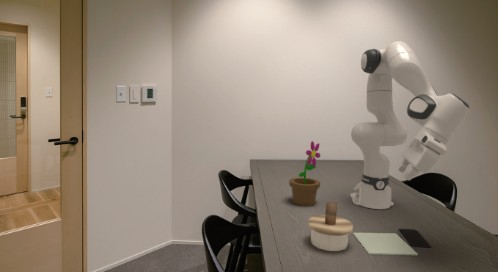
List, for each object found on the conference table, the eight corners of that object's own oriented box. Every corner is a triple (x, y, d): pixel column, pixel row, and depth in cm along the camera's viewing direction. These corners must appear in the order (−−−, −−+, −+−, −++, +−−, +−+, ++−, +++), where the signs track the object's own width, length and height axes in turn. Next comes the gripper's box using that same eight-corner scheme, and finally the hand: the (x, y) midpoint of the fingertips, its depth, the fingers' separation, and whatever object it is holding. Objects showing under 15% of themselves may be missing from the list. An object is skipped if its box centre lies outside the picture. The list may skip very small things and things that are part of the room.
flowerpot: (308, 209, 149) (311, 143, 145) (282, 202, 158) (284, 139, 154) (324, 202, 159) (328, 140, 155) (299, 195, 169) (302, 136, 165)
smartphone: (410, 247, 114) (396, 228, 129) (410, 250, 114) (396, 231, 129) (433, 248, 113) (416, 229, 128) (433, 252, 114) (416, 232, 128)
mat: (352, 233, 124) (352, 232, 124) (395, 234, 125) (395, 233, 125) (369, 254, 108) (369, 253, 108) (417, 255, 109) (417, 254, 109)
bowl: (308, 235, 122) (309, 219, 121) (341, 235, 122) (342, 220, 121) (315, 250, 110) (316, 233, 109) (351, 251, 110) (352, 234, 110)
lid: (304, 217, 123) (305, 196, 122) (345, 218, 123) (346, 197, 122) (312, 235, 108) (314, 210, 107) (359, 236, 108) (361, 211, 107)
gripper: (412, 131, 120) (389, 162, 123) (429, 140, 100) (401, 178, 103) (428, 140, 119) (404, 172, 122) (449, 152, 99) (420, 189, 103)
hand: (403, 175), depth 113 cm, fingers open, 8 cm apart
